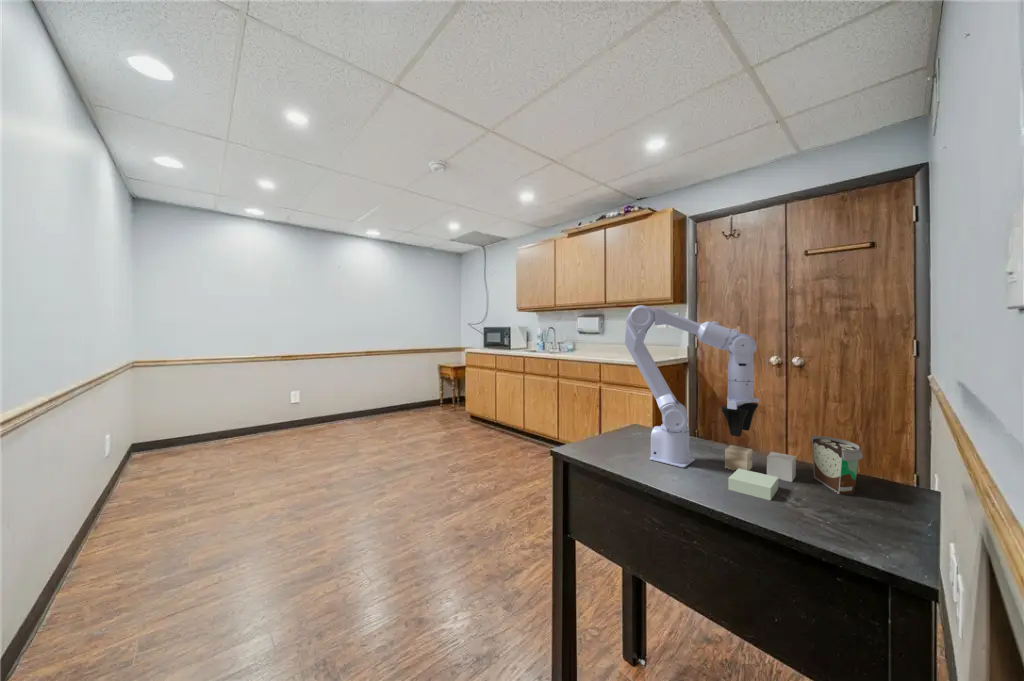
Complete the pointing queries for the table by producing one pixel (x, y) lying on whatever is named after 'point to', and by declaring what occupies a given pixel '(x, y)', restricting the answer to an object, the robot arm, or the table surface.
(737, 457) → the birch cube
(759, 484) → the sage block
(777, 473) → the grey block
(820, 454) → the food container
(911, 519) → the table surface
